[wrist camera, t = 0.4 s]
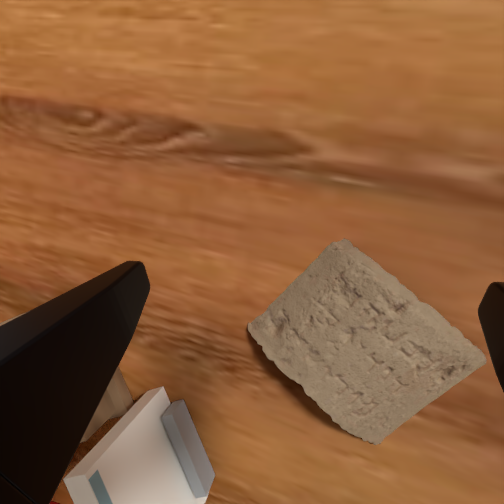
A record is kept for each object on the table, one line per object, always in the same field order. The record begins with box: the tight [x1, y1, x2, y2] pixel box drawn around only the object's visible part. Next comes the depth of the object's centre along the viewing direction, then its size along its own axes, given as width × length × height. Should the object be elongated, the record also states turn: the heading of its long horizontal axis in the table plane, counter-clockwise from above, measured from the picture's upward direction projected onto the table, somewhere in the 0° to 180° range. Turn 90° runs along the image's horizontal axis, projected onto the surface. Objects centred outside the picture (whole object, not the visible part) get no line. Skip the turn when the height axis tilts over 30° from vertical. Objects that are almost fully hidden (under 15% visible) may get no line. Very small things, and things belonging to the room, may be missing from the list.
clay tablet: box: [248, 238, 486, 445], centre depth 21 cm, size 14×10×3 cm
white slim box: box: [63, 386, 209, 504], centre depth 22 cm, size 10×2×9 cm, turn 22°
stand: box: [161, 399, 215, 498], centre depth 26 cm, size 7×4×2 cm, turn 22°
